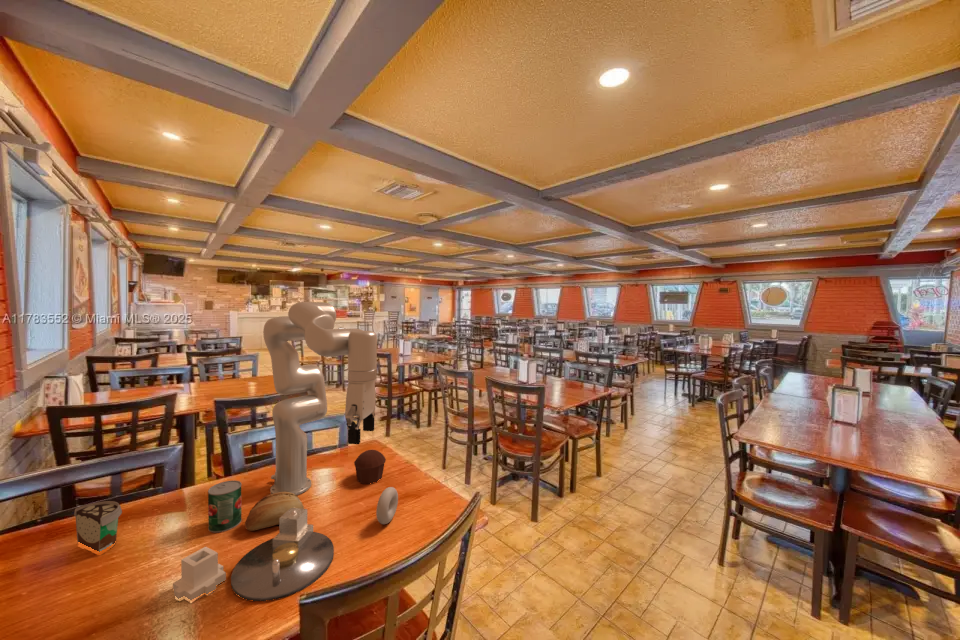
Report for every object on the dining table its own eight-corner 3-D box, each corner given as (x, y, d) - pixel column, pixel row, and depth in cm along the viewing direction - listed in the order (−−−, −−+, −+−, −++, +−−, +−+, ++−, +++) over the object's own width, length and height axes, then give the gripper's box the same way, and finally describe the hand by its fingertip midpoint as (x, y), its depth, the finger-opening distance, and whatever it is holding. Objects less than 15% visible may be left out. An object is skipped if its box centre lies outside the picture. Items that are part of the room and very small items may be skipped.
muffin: (379, 487, 125) (380, 459, 125) (348, 486, 125) (349, 458, 125) (389, 471, 137) (389, 446, 136) (360, 470, 137) (361, 445, 137)
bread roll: (243, 523, 103) (243, 496, 102) (300, 506, 112) (300, 482, 112) (246, 541, 95) (246, 512, 95) (306, 521, 104) (306, 495, 104)
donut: (384, 532, 100) (385, 498, 99) (373, 531, 100) (374, 496, 100) (399, 512, 110) (400, 481, 109) (389, 511, 110) (389, 480, 110)
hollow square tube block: (165, 593, 77) (165, 562, 77) (210, 566, 85) (210, 538, 85) (188, 608, 74) (187, 576, 74) (232, 579, 82) (232, 550, 82)
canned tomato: (247, 520, 104) (247, 484, 104) (218, 536, 97) (218, 497, 96) (231, 513, 107) (231, 478, 107) (202, 527, 100) (201, 490, 100)
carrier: (209, 580, 81) (209, 542, 81) (294, 527, 101) (294, 496, 101) (272, 616, 72) (272, 574, 72) (352, 550, 92) (352, 517, 92)
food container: (133, 542, 94) (133, 505, 93) (102, 557, 88) (101, 518, 87) (105, 531, 98) (105, 496, 97) (74, 545, 92) (73, 508, 92)
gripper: (361, 369, 106) (361, 425, 106) (333, 381, 88) (333, 448, 89) (386, 370, 105) (385, 427, 106) (362, 382, 88) (362, 450, 88)
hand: (361, 436), depth 97 cm, fingers open, 9 cm apart
